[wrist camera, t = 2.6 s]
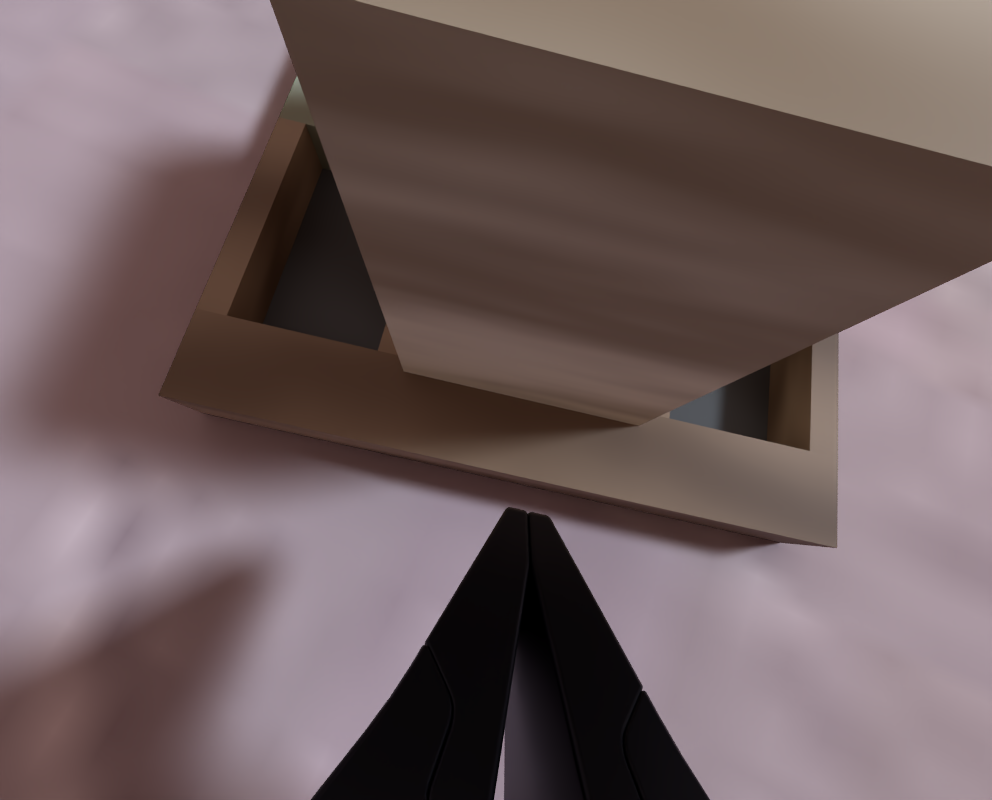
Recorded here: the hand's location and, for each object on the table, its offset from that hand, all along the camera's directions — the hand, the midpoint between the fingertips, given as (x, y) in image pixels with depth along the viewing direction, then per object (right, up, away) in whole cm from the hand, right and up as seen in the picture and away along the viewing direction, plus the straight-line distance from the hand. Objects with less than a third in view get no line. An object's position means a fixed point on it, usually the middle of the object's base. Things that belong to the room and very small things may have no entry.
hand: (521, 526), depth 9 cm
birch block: (+2, +8, +8) cm, 11 cm away
